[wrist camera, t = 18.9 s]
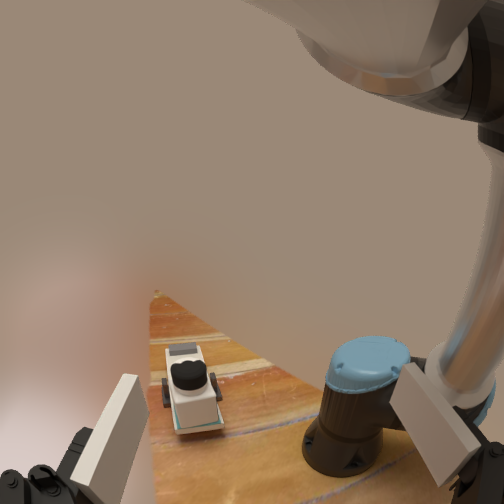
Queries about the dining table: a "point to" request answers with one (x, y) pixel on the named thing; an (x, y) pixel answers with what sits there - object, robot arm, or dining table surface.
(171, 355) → the beam
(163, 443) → the dining table surface
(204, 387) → the medicine bottle
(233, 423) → the dining table surface
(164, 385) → the fulcrum
